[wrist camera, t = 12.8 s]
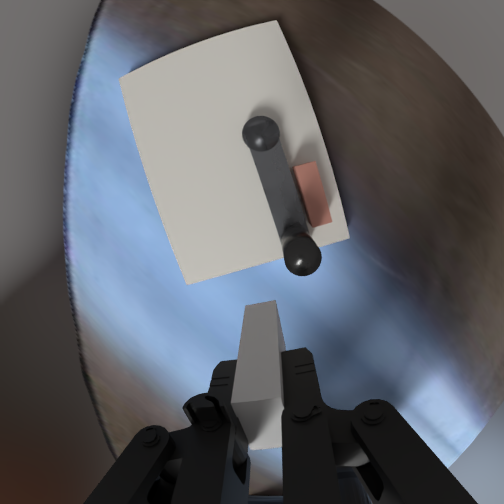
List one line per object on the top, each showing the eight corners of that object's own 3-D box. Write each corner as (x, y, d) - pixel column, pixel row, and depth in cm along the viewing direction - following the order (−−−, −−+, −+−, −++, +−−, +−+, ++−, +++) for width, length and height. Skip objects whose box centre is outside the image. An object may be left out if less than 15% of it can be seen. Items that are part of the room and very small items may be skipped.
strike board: (344, 233, 32) (357, 245, 27) (191, 278, 34) (179, 296, 29) (275, 27, 25) (277, 7, 20) (126, 82, 27) (106, 72, 23)
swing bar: (238, 124, 27) (229, 110, 20) (272, 114, 26) (274, 95, 19) (281, 254, 30) (286, 281, 23) (314, 244, 30) (328, 268, 23)
